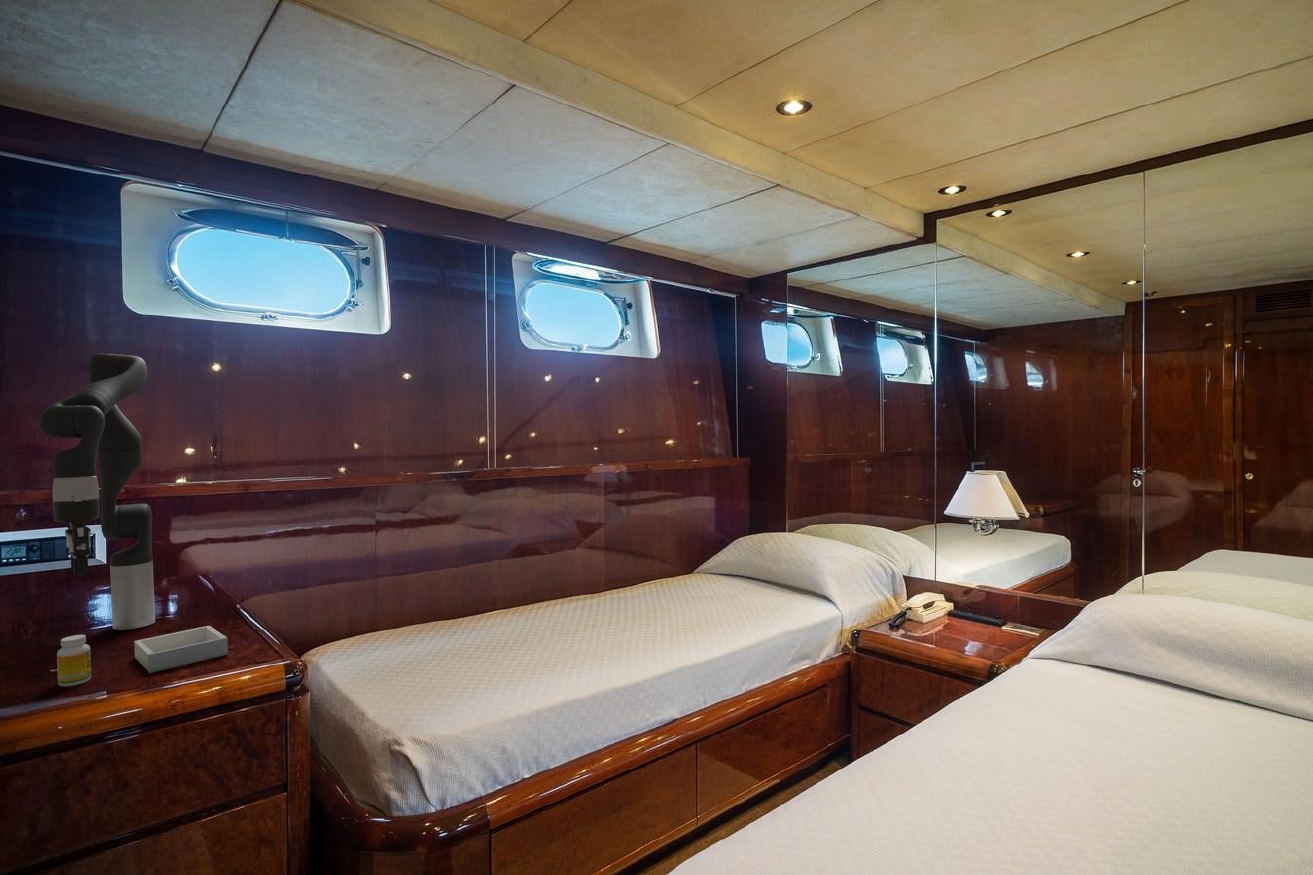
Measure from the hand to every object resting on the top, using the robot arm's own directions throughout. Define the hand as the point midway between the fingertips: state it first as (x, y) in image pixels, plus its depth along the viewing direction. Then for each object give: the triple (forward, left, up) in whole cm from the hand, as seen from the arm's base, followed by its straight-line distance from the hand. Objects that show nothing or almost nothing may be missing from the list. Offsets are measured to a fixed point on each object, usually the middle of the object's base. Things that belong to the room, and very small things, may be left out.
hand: (79, 573), depth 144 cm
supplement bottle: (+1, -2, -23) cm, 23 cm away
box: (0, +18, -23) cm, 29 cm away
